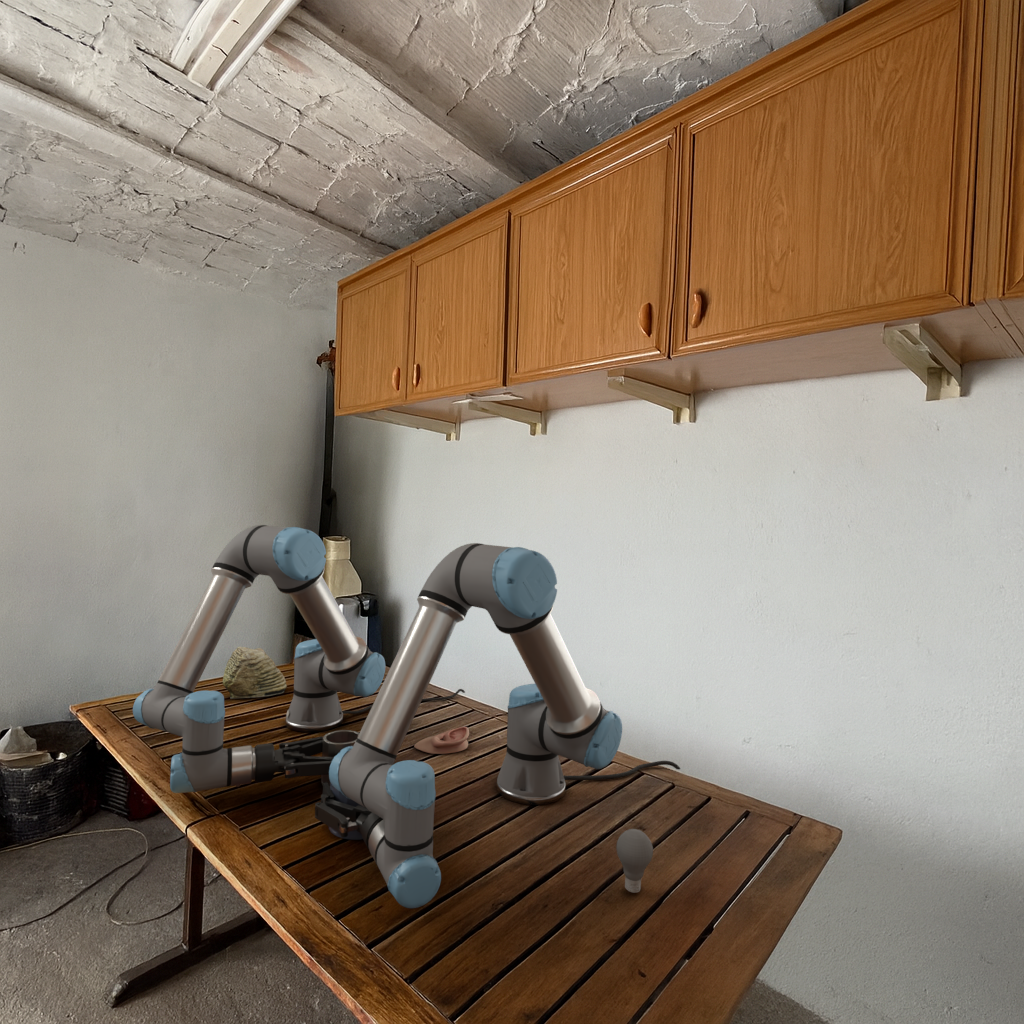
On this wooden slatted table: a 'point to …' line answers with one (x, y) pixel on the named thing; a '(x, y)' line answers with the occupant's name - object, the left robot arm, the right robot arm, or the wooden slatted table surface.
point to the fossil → (252, 674)
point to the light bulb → (634, 857)
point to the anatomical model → (445, 742)
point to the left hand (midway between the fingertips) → (361, 749)
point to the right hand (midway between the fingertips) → (356, 783)
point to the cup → (336, 745)
